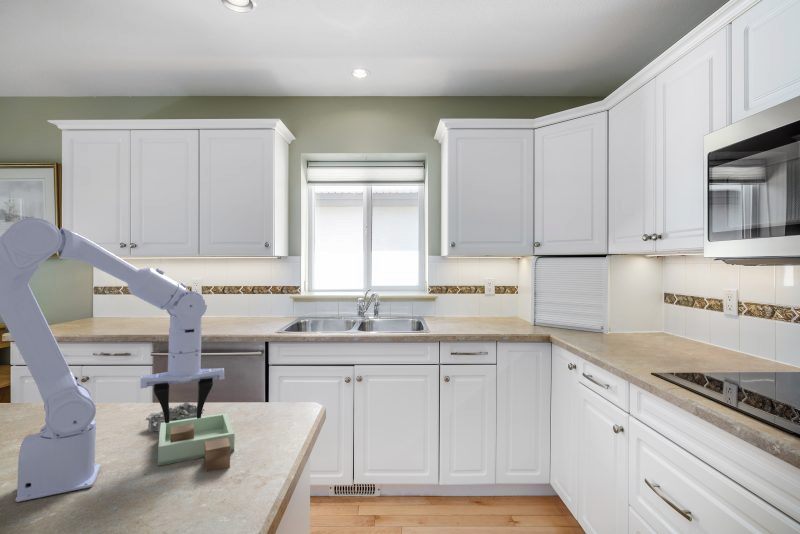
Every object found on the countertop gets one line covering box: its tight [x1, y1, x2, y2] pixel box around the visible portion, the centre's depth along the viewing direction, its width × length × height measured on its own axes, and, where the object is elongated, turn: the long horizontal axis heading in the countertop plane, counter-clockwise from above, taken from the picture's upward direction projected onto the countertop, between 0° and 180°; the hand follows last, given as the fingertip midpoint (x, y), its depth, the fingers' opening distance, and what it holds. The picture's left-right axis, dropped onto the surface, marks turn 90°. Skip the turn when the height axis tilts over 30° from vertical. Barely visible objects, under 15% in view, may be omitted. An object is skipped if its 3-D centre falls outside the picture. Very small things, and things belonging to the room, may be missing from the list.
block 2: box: [203, 438, 231, 473], centre depth 73 cm, size 4×4×4 cm
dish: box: [157, 412, 235, 467], centre depth 81 cm, size 13×13×4 cm
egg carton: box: [145, 401, 205, 435], centre depth 91 cm, size 11×8×4 cm
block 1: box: [170, 424, 194, 443], centre depth 78 cm, size 4×4×4 cm
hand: (183, 419), depth 78 cm, fingers open, 5 cm apart
